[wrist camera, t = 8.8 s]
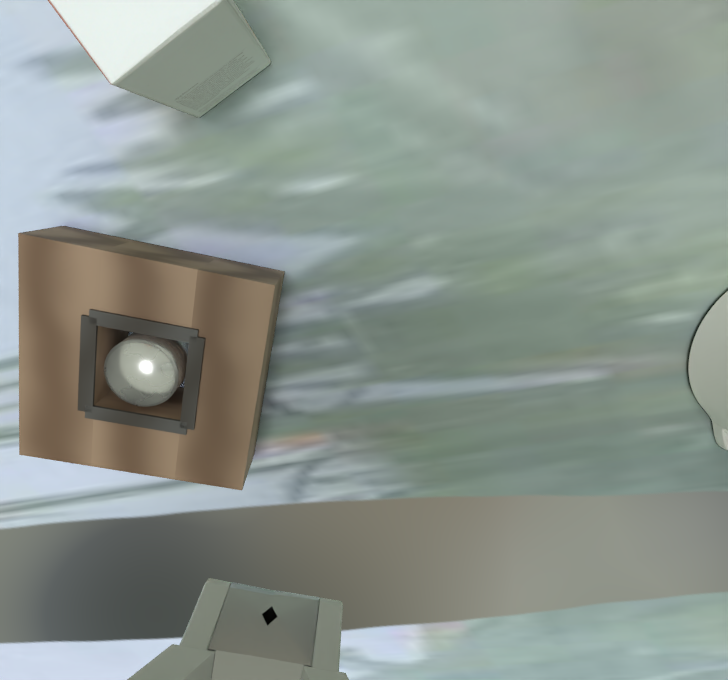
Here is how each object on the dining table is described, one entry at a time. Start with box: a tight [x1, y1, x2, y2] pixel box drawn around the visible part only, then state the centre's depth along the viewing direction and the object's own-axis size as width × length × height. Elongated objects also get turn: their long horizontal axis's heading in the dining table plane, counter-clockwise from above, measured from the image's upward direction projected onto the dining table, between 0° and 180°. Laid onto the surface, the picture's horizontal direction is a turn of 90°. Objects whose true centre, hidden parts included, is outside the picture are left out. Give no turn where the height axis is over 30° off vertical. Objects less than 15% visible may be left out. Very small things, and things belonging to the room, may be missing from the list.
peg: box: [104, 333, 189, 407], centre depth 35 cm, size 5×5×5 cm
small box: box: [48, 0, 271, 117], centre depth 25 cm, size 8×6×13 cm
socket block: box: [18, 226, 285, 490], centre depth 35 cm, size 16×16×5 cm
